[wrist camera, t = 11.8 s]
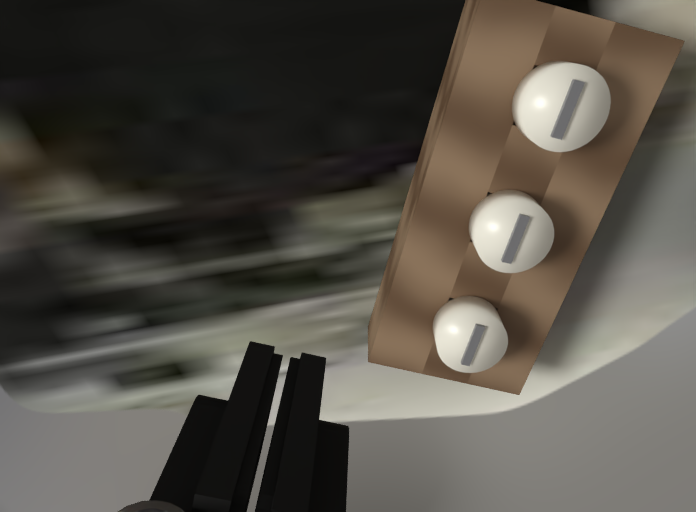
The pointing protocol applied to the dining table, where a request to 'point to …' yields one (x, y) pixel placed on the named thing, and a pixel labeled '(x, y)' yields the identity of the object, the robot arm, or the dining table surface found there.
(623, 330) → the dining table surface
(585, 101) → the knob near
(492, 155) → the knob mount
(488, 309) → the knob far
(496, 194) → the knob middle
